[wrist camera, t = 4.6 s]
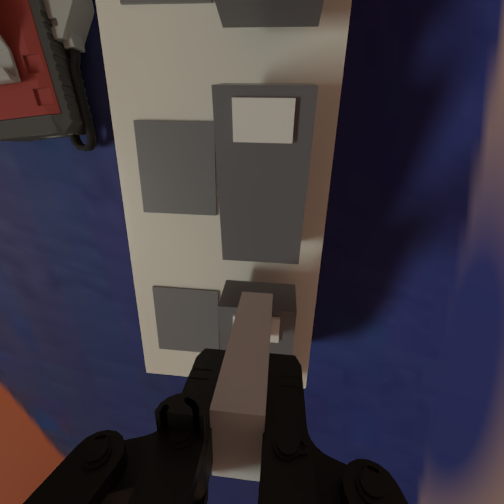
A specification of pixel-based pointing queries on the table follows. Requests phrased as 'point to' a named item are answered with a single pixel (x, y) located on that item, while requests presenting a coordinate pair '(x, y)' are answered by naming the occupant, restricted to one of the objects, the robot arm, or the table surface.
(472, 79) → the table surface
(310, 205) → the power strip
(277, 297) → the rocker
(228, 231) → the rocker
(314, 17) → the block
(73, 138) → the walkie-talkie
